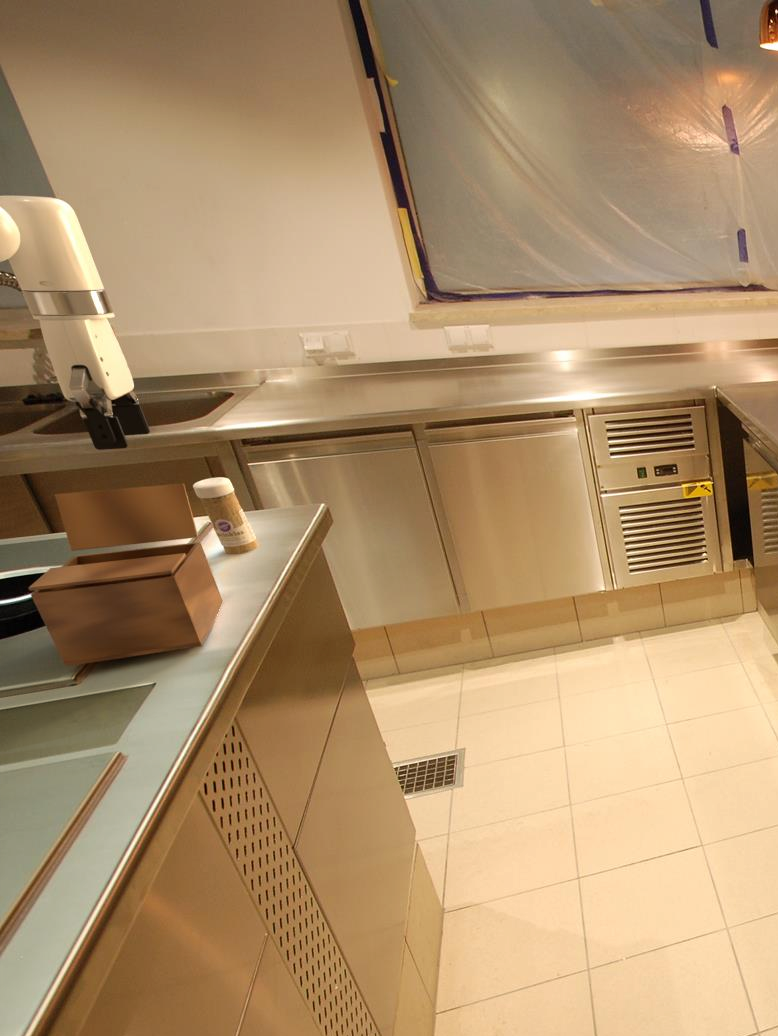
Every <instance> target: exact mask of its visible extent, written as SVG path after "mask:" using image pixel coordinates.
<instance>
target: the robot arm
mask: <svg viewBox="0 0 778 1036" xmlns="http://www.w3.org/2000/svg"><path fill="white" fill-rule="evenodd" d="M6 260H8V262H9V264H10V267H11V269H12V271H13V274H14V276H15V279H16V281H17V283H18V285H19V287H20V290H21V293H22V295H23V298H24V300H25V303H26V305H27V307H28V310H29V312H30V314H31V316H32V319H33V320H35V321H39V325H40V330H41V335H42V337H43V342H44V345H45V348H46V351H47V354H48V357H49V361H50V363H51V365H52V368H53V371H54V373H55V377H56V379H57V382H58V385H59V387H60V390H61V393H62V395H63V397H64V399H66V400H67V401H68V402H69V401H70V402H73V403H74V402H75V406H76V407H77V408H78V409H79V415H80V417H81V418H82V420H83V423H84V425H85V427H86V430H87V433H88V434H89V437H90V439H91V442H92V444H93V446H94V448H95V449H96V450H98V451H103V450H104V451H105V450H121V449H127V448H128V447H129V443H128V440H127V437H126V436H139V435H140V436H141V435H149V434H150V433H151V429H150V426H149V424H148V421H147V419H146V417H145V414H144V412H143V409H142V406H141V404H140V400H139V398H138V395H137V394H136V393H135V392H134V389H135V382H134V379H133V376H132V373H131V370H130V368H129V365H128V362H127V360H126V358H125V355H124V353H123V350H122V348H121V346H120V343H119V341H118V339H117V337H116V335H115V331H114V329H113V327H112V326H111V324H110V322H109V320H108V319H112V318H115V317H116V316H115V312H114V311H113V307H112V305H111V303H110V300H109V297H108V295H107V292H106V290H105V287H104V284H103V282H102V279H101V277H100V273H99V270H98V269H97V266H96V264H95V261H94V258H93V256H92V253H91V251H90V247H89V245H88V242H87V240H86V237H85V235H84V232H83V229H82V227H81V224H80V222H79V218H78V216H77V214H76V212H75V210H74V209H73V208H72V206H71V205H70V204H69V203H67V202H66V201H64V200H62V199H59V198H55V197H49V196H35V195H34V196H33V195H32V196H31V195H0V263H2V262H5V261H6Z"/></svg>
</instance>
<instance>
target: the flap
mask: <svg viewBox="0 0 778 1036" xmlns="http://www.w3.org/2000/svg"><path fill="white" fill-rule="evenodd" d="M54 496H55V500H56V503H57V507H58V510H59V513H60V517H61V521H62V524H63V528H64V531H65V534H66V537H67V541H68V545H69V548H70V551H72V552H74V551H75V552H76V551H84V550H94V549H103V548H113V547H121V546H130V545H141V544H149V543H159V542H169V541H177V540H187V539H196V538H199V534H198V530H197V526H196V522H195V519H194V515H193V512H192V508H191V503H190V499H189V497H188V492H187V488H186V484H185V483H173V484H163V485H151V486H138V487H137V486H136V487H126V488H125V487H124V488H114V489H102V490H90V491H89V490H88V491H80V492H78V491H77V492H67V493H66V492H65V493H55V494H54Z"/></svg>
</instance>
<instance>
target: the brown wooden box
mask: <svg viewBox="0 0 778 1036" xmlns="http://www.w3.org/2000/svg"><path fill="white" fill-rule="evenodd" d="M28 590H29V591H31V592H32V591H33V592H32V593H31V594H30V596H31V598H32V600H33V602H34V604H35V606H36V609H37V610H38V613H39V615H40V617H41V619H42V621H43V624H44V626H45V627H46V629H47V631H48V633H49V635H50V638H51V640H52V641H53V644H54V646H55V648H56V651H57V652H58V654H59V656H60V658H61V660H62V662H63V665H64V667H73V666H78V665H79V666H80V665H84V664H85V665H86V664H93V663H98V662H105V661H111V660H119V659H124V658H125V659H126V658H131V657H137V656H145V655H150V654H157V653H164V652H165V653H166V652H172V651H179V650H183V649H184V650H185V649H191V648H197V647H202V646H203V644H204V643H205V641H206V640H207V638H208V635H209V634H210V632H211V631H212V628H213V627H214V625H215V623H216V621H215V619H216V620H217V618H218V616H217V614H218V615H219V613H220V611H219V609H220V610H221V608H222V605H223V603H224V600H223V598H222V595H221V592H220V590H219V588H218V585H217V582H216V579H215V576H214V574H213V571H212V569H211V566H210V564H209V561H208V558H207V556H206V553H205V550H204V548H203V545H202V543H201V542H200V541H199V542H197V541H196V542H189V543H180V544H170V545H162V546H161V545H160V546H152V547H143V548H133V549H132V548H131V549H124V550H114V551H105V552H97V553H86V554H79V555H78V554H77V555H73V556H72V557H71V558H70V559H68V560H67V561H66V562H65V563H64V564H63V565H61V566H58V567H50V568H49V569H48V570H47V571H46V572H45V573H43V574H42V575H41V576H40V577H39V578H38V579H36V581H34V582H33V583H32V584H31V585H30V586H29V587H28ZM222 602H223V603H222ZM221 604H222V605H221ZM220 607H221V608H220ZM218 612H219V613H218ZM216 617H217V618H216ZM214 622H215V623H214ZM213 624H214V625H213Z"/></svg>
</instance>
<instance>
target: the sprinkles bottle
mask: <svg viewBox="0 0 778 1036" xmlns="http://www.w3.org/2000/svg"><path fill="white" fill-rule="evenodd" d="M192 488H193V490H194V493H195V495H196V497H197V498H198V499H199V500H200V501H201V503H202V506H203V508H204V510H205V512H206V515H207V517H208V518H209V521H210V523H211V525H212V527H213V531H214V533H215V534H216V536H217V538H218V541H219V543H220V545H221V546H222V547H223V549H224V551H225V553H226V554H228V555H239V554H244V553H249V552H251V551H254V550H256V549H257V548H259V545H260V544H259V543H258V542H259V541H258V540H257V537H256V535H255V533H254V530H253V529H252V527H251V524H250V523H249V521H248V518H247V516H246V514H245V512H244V510H243V508H242V507H241V505H240V502H239V500H238V498H237V496H236V494H235V488H234V486H233V483H232V482H231V480H230V479H229V478H227V477H223V476H221V477H209V478H205V479H202V480H199V481H196V482H194V484H193V485H192Z"/></svg>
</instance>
